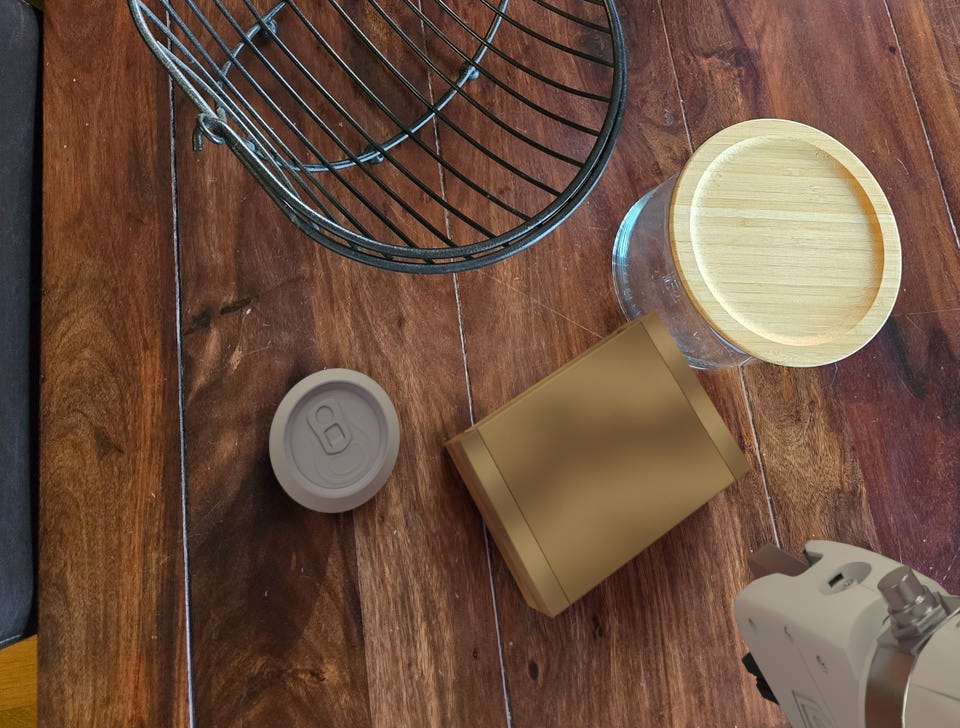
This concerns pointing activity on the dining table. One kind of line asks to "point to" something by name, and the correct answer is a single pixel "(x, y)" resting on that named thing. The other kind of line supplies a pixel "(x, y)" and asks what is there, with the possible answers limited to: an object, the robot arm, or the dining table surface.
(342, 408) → the beverage can
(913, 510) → the dining table surface
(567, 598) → the gold flanged block
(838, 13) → the dining table surface
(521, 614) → the dining table surface
